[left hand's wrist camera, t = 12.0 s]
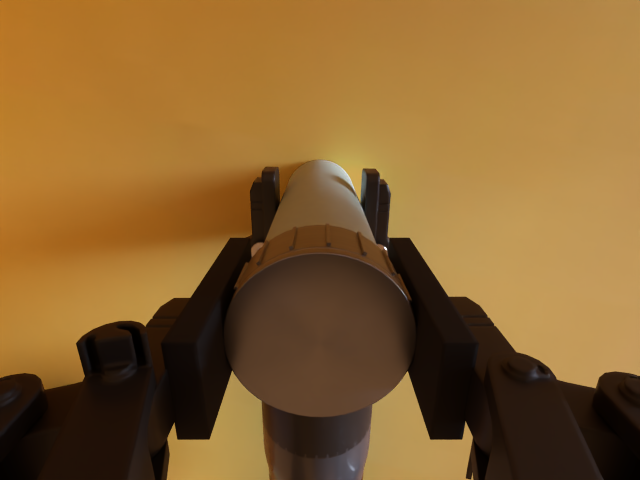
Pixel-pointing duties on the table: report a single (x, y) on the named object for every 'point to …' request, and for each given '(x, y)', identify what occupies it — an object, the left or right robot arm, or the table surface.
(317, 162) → the jar
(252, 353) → the lid
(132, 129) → the table surface
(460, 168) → the table surface
